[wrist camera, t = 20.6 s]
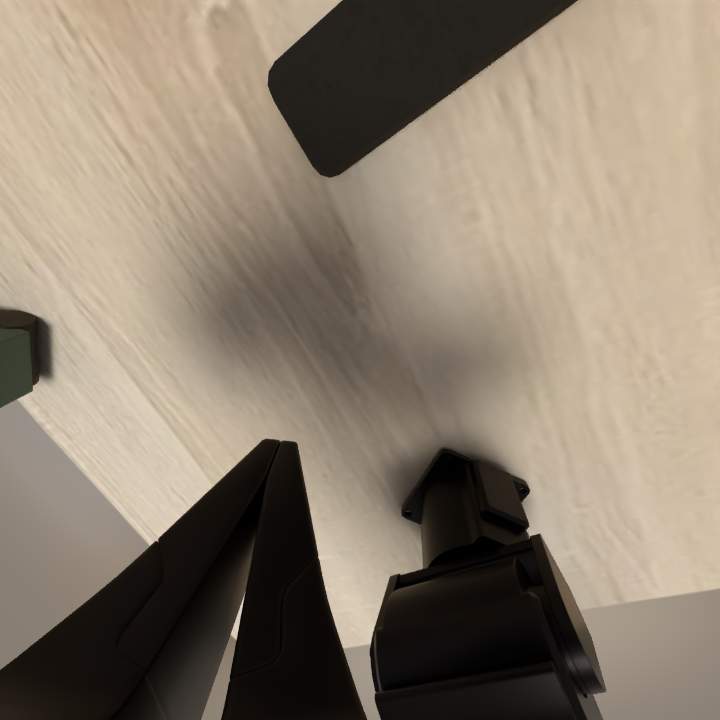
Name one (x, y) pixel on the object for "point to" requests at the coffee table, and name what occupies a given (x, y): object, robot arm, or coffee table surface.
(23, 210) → the coffee table surface
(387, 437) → the coffee table surface
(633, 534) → the coffee table surface
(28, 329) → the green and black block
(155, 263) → the coffee table surface
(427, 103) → the remote control
